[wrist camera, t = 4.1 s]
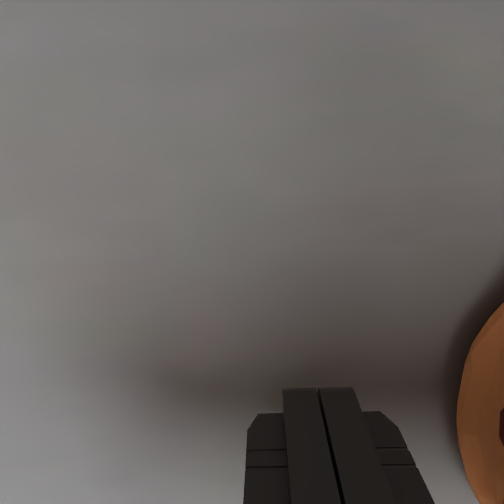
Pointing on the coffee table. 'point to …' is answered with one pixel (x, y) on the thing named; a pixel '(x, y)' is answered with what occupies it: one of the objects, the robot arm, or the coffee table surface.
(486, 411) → the donut
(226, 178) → the coffee table surface
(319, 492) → the robot arm
